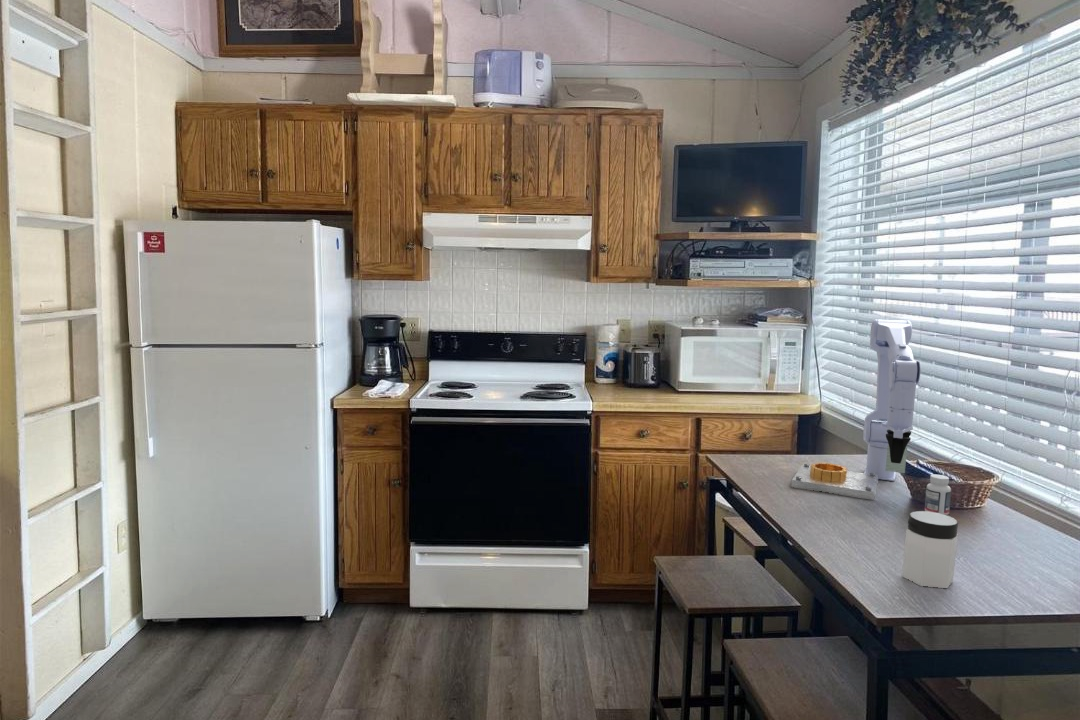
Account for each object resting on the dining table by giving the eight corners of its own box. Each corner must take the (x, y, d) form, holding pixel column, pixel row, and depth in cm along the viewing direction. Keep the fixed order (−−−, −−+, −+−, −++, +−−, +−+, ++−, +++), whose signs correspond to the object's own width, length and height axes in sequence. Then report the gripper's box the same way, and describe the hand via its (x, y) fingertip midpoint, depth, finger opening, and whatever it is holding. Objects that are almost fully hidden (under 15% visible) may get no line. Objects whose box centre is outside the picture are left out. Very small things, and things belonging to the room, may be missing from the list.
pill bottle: (943, 509, 183) (946, 474, 182) (952, 516, 178) (956, 480, 177) (920, 508, 183) (924, 472, 182) (929, 515, 178) (933, 479, 177)
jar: (909, 566, 147) (915, 507, 145) (956, 578, 142) (962, 517, 140) (897, 580, 140) (903, 518, 139) (945, 593, 135) (952, 529, 133)
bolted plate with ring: (801, 471, 214) (802, 455, 213) (877, 482, 205) (879, 466, 204) (791, 487, 198) (792, 470, 197) (873, 500, 189) (875, 482, 188)
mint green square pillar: (886, 466, 193) (889, 435, 191) (905, 469, 191) (908, 437, 190) (885, 470, 189) (888, 438, 188) (904, 473, 187) (907, 441, 186)
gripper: (884, 401, 196) (880, 452, 198) (882, 410, 183) (877, 464, 185) (914, 404, 193) (910, 456, 194) (914, 414, 180) (909, 469, 182)
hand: (896, 460), depth 189 cm, fingers closed on mint green square pillar, 4 cm apart
